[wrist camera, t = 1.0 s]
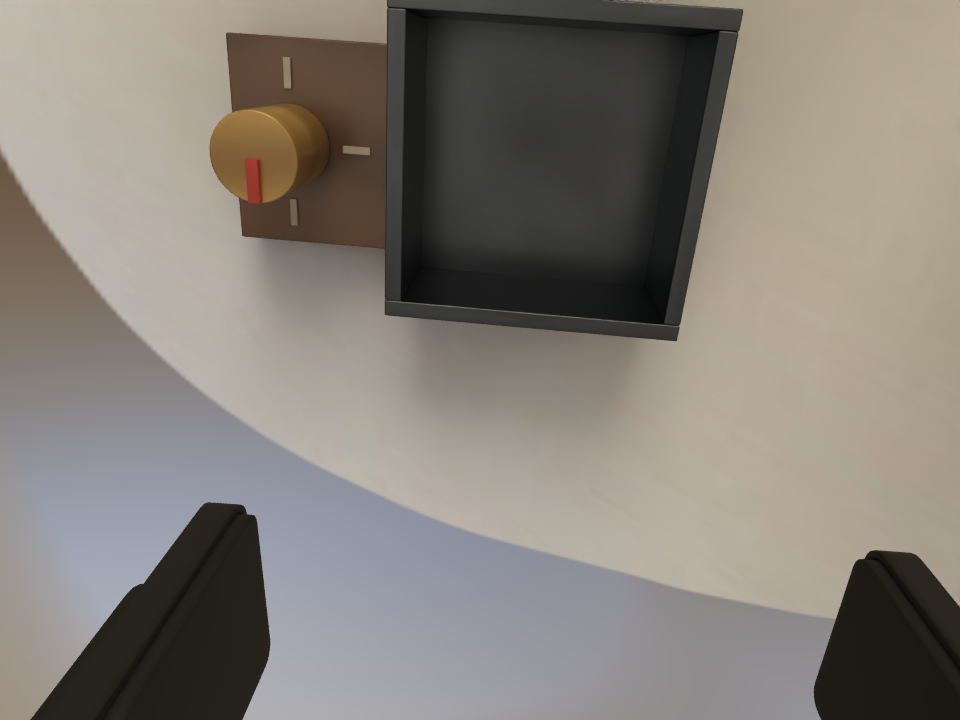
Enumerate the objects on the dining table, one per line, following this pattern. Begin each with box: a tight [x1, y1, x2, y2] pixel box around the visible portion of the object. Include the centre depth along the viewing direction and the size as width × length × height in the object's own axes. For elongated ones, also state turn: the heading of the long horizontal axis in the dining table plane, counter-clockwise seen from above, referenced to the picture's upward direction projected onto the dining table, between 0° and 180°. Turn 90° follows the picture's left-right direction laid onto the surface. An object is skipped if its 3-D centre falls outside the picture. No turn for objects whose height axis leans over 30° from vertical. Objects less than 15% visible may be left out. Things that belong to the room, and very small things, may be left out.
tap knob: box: [210, 103, 329, 204], centre depth 32 cm, size 4×4×5 cm
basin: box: [385, 0, 743, 341], centre depth 33 cm, size 14×14×7 cm
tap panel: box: [226, 33, 387, 248], centre depth 35 cm, size 10×9×3 cm
